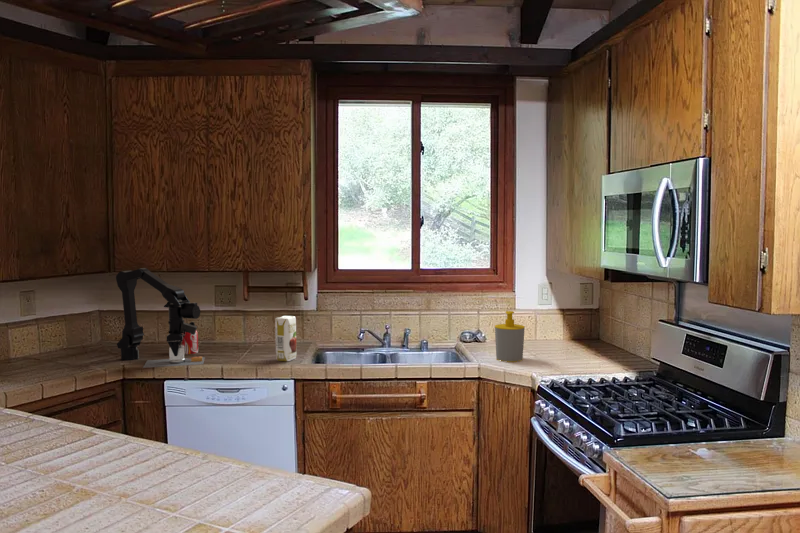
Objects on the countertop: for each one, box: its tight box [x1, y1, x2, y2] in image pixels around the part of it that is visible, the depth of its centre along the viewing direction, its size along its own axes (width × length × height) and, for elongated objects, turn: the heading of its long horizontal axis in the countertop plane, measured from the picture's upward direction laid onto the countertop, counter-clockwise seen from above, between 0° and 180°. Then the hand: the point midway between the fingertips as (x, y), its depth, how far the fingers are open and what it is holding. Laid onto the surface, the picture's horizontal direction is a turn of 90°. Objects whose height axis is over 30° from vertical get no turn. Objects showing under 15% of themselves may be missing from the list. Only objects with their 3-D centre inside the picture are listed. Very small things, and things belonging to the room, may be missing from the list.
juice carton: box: [274, 315, 297, 362], centre depth 279 cm, size 8×9×19 cm
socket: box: [168, 344, 185, 360], centre depth 271 cm, size 6×6×5 cm
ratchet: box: [168, 356, 203, 364], centre depth 272 cm, size 13×6×5 cm, turn 104°
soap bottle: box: [494, 310, 526, 363], centre depth 277 cm, size 13×13×21 cm
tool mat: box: [142, 356, 206, 369], centre depth 271 cm, size 24×14×1 cm, turn 104°
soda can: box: [181, 329, 199, 355], centre depth 291 cm, size 7×7×12 cm
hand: (177, 353), depth 271 cm, fingers open, 9 cm apart
